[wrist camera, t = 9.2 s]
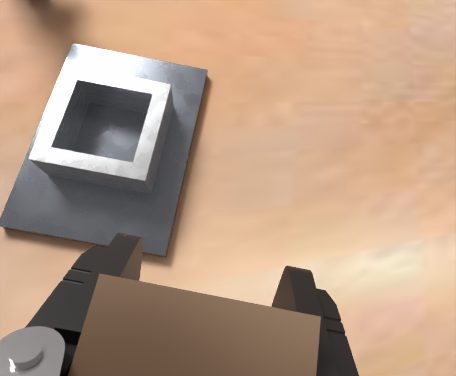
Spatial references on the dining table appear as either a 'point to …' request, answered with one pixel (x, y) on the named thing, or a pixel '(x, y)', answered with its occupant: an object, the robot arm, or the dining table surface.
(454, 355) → the dining table surface
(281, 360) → the walnut post
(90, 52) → the keeper cradle
